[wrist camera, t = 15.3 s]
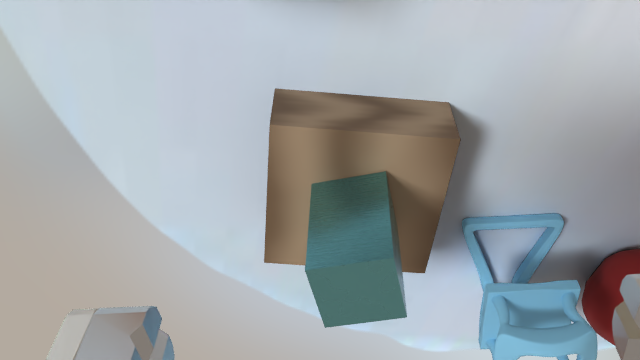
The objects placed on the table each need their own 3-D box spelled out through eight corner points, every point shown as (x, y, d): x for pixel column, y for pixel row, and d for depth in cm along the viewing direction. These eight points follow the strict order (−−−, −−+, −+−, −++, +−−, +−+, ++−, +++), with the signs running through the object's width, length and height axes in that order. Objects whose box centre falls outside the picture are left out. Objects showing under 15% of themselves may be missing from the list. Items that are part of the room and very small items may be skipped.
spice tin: (385, 171, 39) (393, 257, 33) (397, 227, 42) (406, 317, 36) (311, 183, 40) (305, 270, 34) (328, 238, 43) (325, 327, 37)
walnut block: (447, 99, 42) (460, 139, 38) (416, 228, 49) (424, 273, 45) (275, 86, 42) (269, 124, 38) (269, 218, 49) (264, 262, 45)
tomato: (623, 223, 48) (663, 291, 42) (693, 259, 50) (740, 328, 45) (553, 283, 52) (581, 352, 47) (620, 314, 55) (655, 384, 49)
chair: (456, 288, 53) (483, 414, 43) (462, 217, 48) (495, 341, 38) (545, 285, 53) (593, 411, 43) (561, 212, 48) (619, 337, 38)
